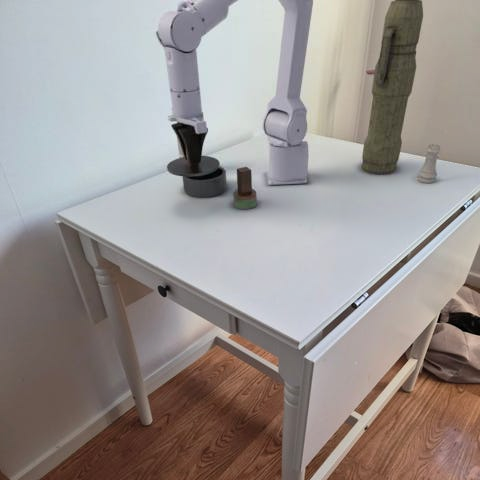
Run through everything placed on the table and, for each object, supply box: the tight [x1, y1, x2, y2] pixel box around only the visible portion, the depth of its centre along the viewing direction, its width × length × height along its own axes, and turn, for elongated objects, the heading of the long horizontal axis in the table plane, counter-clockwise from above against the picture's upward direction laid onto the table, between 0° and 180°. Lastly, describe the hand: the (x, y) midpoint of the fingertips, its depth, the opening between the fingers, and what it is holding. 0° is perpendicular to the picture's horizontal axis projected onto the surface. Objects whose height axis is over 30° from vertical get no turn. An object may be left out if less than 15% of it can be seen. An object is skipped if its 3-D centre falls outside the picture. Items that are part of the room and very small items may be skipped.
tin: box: [181, 166, 228, 199], centre depth 102 cm, size 10×10×4 cm
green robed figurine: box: [360, 0, 424, 176], centre depth 98 cm, size 9×12×35 cm
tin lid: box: [166, 150, 221, 177], centre depth 89 cm, size 11×11×5 cm
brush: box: [232, 166, 258, 210], centre depth 93 cm, size 5×5×8 cm
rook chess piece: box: [416, 143, 442, 184], centre depth 99 cm, size 4×4×8 cm
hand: (193, 161), depth 89 cm, fingers closed on tin lid, 2 cm apart
